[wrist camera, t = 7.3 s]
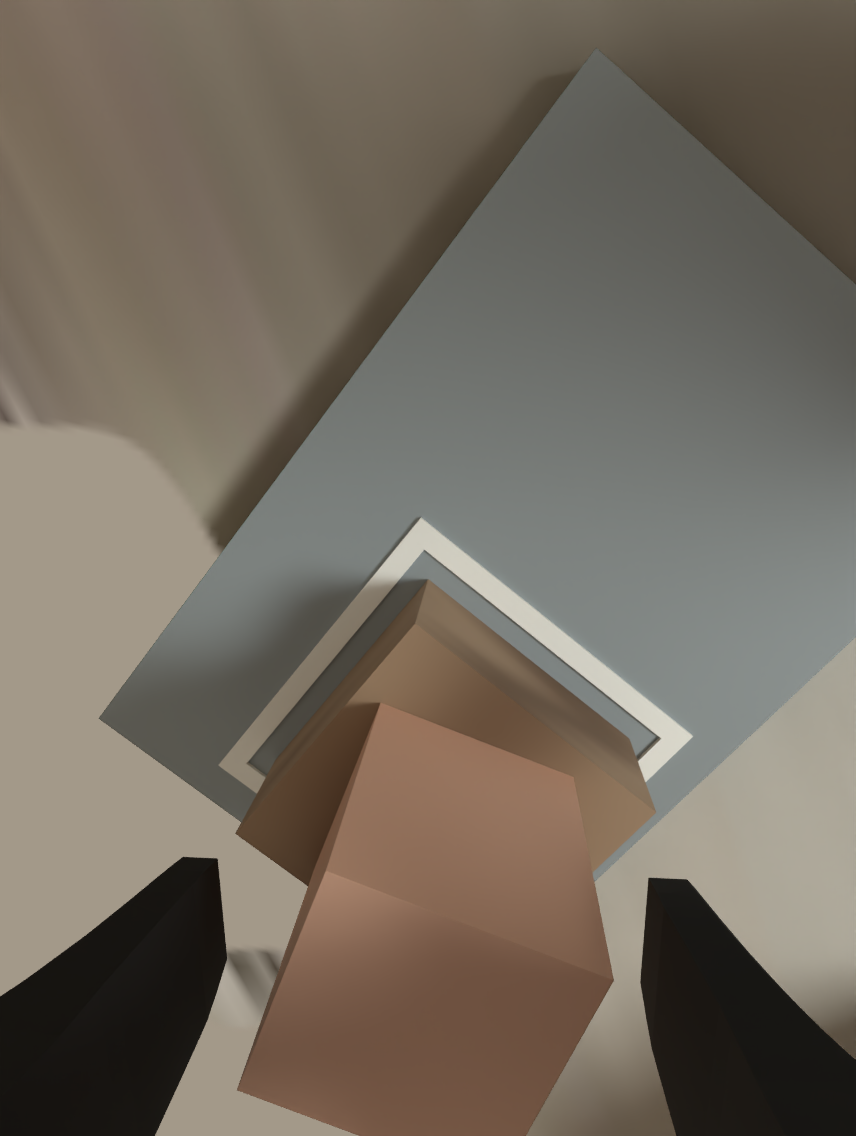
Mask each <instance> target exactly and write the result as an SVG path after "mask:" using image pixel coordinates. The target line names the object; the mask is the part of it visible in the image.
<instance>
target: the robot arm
mask: <svg viewBox="0 0 856 1136" xmlns="http://www.w3.org/2000/svg"><path fill="white" fill-rule="evenodd" d="M226 960H227V953H226V943H225V933H224V922H223V912H222V901H221V891H220V879H219V869H218V859H216V858H193V857H182V858H181V859H180V860H179V861H177V862H176V863H175V864H173V865H172V866H171V867H170V868H168V869H167V870H166V871H165V872H163V873H162V874H161V875H160V876H158V877H157V878H156V879H155V880H154V881H152V882H151V883H150V884H149V885H148V886H147V887H145V888H144V889H143V890H142V891H140V892H139V893H138V894H137V895H135V896H134V897H133V898H132V899H131V900H129V901H128V902H127V903H126V904H124V905H123V906H122V907H121V908H119V909H118V910H117V911H116V912H114V913H113V914H112V915H111V916H109V917H108V918H107V919H106V920H104V921H103V922H102V923H101V924H100V925H98V926H97V927H96V928H94V929H93V930H92V931H91V932H89V933H88V934H87V935H86V936H84V937H83V938H82V939H80V940H79V941H78V942H77V943H75V944H73V945H72V946H71V947H69V948H68V949H67V950H65V951H64V952H63V953H61V954H60V955H59V956H57V957H56V958H54V959H53V960H52V961H50V962H49V963H48V964H46V965H45V966H44V967H42V968H41V969H40V970H38V971H37V972H35V973H34V974H33V975H31V976H30V977H28V978H27V979H26V980H24V981H23V982H21V983H20V984H18V985H17V986H15V987H14V988H12V989H11V990H9V991H8V992H6V993H5V994H3V995H2V996H0V1136H155V1134H156V1132H157V1130H158V1128H159V1126H160V1123H161V1121H162V1119H163V1117H164V1115H165V1112H166V1110H167V1108H168V1106H169V1104H170V1101H171V1099H172V1097H173V1095H174V1092H175V1091H176V1089H177V1086H178V1084H179V1082H180V1080H181V1078H182V1075H183V1073H184V1071H185V1069H186V1067H187V1064H188V1062H189V1060H190V1058H191V1056H192V1053H193V1051H194V1049H195V1047H196V1045H197V1042H198V1040H199V1038H200V1035H201V1033H202V1031H203V1029H204V1027H205V1024H206V1022H207V1020H208V1017H209V1014H210V1011H211V1008H212V1005H213V1002H214V999H215V996H216V993H217V990H218V986H219V983H220V980H221V977H222V973H223V970H224V967H225V964H226ZM640 982H641V988H642V994H643V1000H644V1006H645V1013H646V1019H647V1024H648V1030H649V1035H650V1041H651V1047H652V1051H653V1054H654V1058H655V1062H656V1065H657V1069H658V1072H659V1076H660V1079H661V1083H662V1087H663V1090H664V1094H665V1097H666V1101H667V1104H668V1108H669V1111H670V1115H671V1118H672V1122H673V1125H674V1129H675V1132H676V1136H856V1060H855V1059H854V1058H853V1057H852V1056H851V1055H849V1054H848V1053H847V1052H846V1051H845V1050H844V1049H843V1048H841V1047H840V1046H839V1045H838V1044H837V1043H836V1042H835V1041H834V1040H833V1039H832V1038H831V1037H830V1036H829V1035H827V1034H826V1033H825V1032H824V1031H823V1030H822V1029H821V1028H820V1027H819V1026H818V1025H817V1024H816V1023H815V1022H814V1021H813V1020H812V1019H811V1018H810V1017H809V1016H808V1015H807V1014H806V1013H805V1012H804V1011H803V1010H802V1009H801V1008H800V1007H799V1006H798V1005H797V1004H796V1003H795V1002H794V1001H793V1000H792V999H791V998H790V997H789V996H788V995H787V994H786V993H785V991H784V990H783V989H782V988H781V987H780V986H779V985H778V984H777V983H776V982H775V981H774V980H773V979H772V977H771V976H770V975H769V974H768V973H767V972H766V971H765V970H764V969H763V968H762V966H761V965H760V964H759V963H758V962H757V961H756V960H755V959H754V958H753V957H752V955H751V954H750V953H749V952H748V951H747V950H746V949H745V947H744V946H743V945H742V944H741V943H740V942H739V941H738V939H737V938H736V937H735V936H734V935H733V933H732V932H731V931H730V930H729V929H728V928H727V926H726V925H725V924H724V923H723V922H722V920H721V919H720V918H719V917H718V916H717V914H716V913H715V912H714V911H713V910H712V908H711V907H710V906H709V905H708V903H707V902H706V901H705V900H704V899H703V897H702V896H701V895H700V894H699V892H698V891H697V890H696V889H695V888H694V886H693V885H692V884H691V883H690V882H689V881H688V880H686V879H664V878H649V880H648V892H647V905H646V918H645V930H644V943H643V956H642V969H641V981H640Z"/></svg>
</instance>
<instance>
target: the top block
mask: <svg viewBox="0 0 856 1136" xmlns="http://www.w3.org/2000/svg"><path fill="white" fill-rule="evenodd" d="M613 981H614V979H613V974H612V969H611V964H610V959H609V954H608V949H607V944H606V939H605V934H604V929H603V923H602V918H601V913H600V908H599V903H598V898H597V893H596V888H595V883H594V878H593V873H592V868H591V863H590V858H589V853H588V848H587V843H586V838H585V832H584V827H583V822H582V817H581V812H580V807H579V802H578V797H577V792H576V787H575V782H574V777H572V776H569V775H567V774H564V773H562V772H559V771H556V770H554V769H551V768H549V767H546V766H544V765H541V764H538V763H536V762H533V761H531V760H528V759H525V758H523V757H520V756H518V755H515V754H512V753H510V752H507V751H505V750H502V749H499V748H497V747H494V746H492V745H489V744H487V743H484V742H481V741H479V740H476V739H474V738H471V737H468V736H466V735H463V734H461V733H458V732H455V731H453V730H450V729H448V728H445V727H442V726H440V725H437V724H435V723H432V722H430V721H427V720H424V719H422V718H419V717H417V716H414V715H411V714H409V713H406V712H404V711H401V710H398V709H396V708H393V707H391V706H388V705H385V704H383V703H380V706H379V708H378V711H377V713H376V716H375V718H374V721H373V723H372V726H371V728H370V731H369V733H368V736H367V738H366V741H365V743H364V746H363V748H362V751H361V753H360V756H359V758H358V761H357V763H356V766H355V768H354V771H353V773H352V776H351V778H350V781H349V783H348V786H347V788H346V791H345V793H344V796H343V798H342V801H341V803H340V806H339V808H338V811H337V813H336V816H335V818H334V821H333V823H332V826H331V828H330V831H329V833H328V836H327V838H326V841H325V843H324V846H323V848H322V851H321V853H320V856H319V858H318V861H317V863H316V866H315V868H314V871H313V874H312V877H311V880H310V883H309V886H308V888H307V891H306V894H305V897H304V900H303V903H302V906H301V909H300V911H299V914H298V917H297V920H296V923H295V926H294V929H293V931H292V934H291V937H290V940H289V943H288V946H287V948H286V951H285V954H284V957H283V960H282V963H281V966H280V968H279V971H278V974H277V977H276V980H275V983H274V986H273V988H272V991H271V994H270V997H269V1000H268V1003H267V1006H266V1008H265V1011H264V1014H263V1017H262V1020H261V1023H260V1026H259V1028H258V1031H257V1034H256V1037H255V1040H254V1043H253V1046H252V1048H251V1052H250V1054H249V1057H248V1060H247V1063H246V1066H245V1068H244V1071H243V1074H242V1077H241V1080H240V1083H239V1086H238V1088H237V1090H238V1091H241V1092H243V1093H246V1094H249V1095H251V1096H254V1097H257V1098H260V1099H262V1100H265V1101H267V1102H270V1103H273V1104H276V1105H278V1106H281V1107H284V1108H286V1109H289V1110H292V1111H294V1112H297V1113H300V1114H302V1115H305V1116H308V1117H310V1118H313V1119H316V1120H318V1121H321V1122H324V1123H327V1124H329V1125H332V1126H335V1127H337V1128H340V1129H343V1130H345V1131H348V1132H351V1133H353V1134H356V1135H359V1136H526V1134H527V1133H528V1131H529V1129H530V1127H531V1126H532V1124H533V1122H534V1120H535V1118H536V1117H537V1115H538V1113H539V1111H540V1110H541V1108H542V1106H543V1104H544V1103H545V1101H546V1099H547V1097H548V1096H549V1094H550V1092H551V1090H552V1088H553V1087H554V1085H555V1083H556V1081H557V1080H558V1078H559V1076H560V1074H561V1073H562V1071H563V1069H564V1067H565V1066H566V1064H567V1062H568V1060H569V1058H570V1057H571V1055H572V1053H573V1051H574V1050H575V1048H576V1046H577V1044H578V1043H579V1041H580V1039H581V1037H582V1035H583V1034H584V1032H585V1030H586V1028H587V1027H588V1025H589V1023H590V1021H591V1020H592V1018H593V1016H594V1014H595V1013H596V1011H597V1009H598V1007H599V1005H600V1004H601V1002H602V1000H603V998H604V997H605V995H606V993H607V991H608V990H609V988H610V986H611V984H612V983H613Z"/></svg>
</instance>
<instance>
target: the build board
mask: <svg viewBox="0 0 856 1136" xmlns="http://www.w3.org/2000/svg"><path fill="white" fill-rule="evenodd" d="M428 579H429V580H430V581H431V582H433V583H434V584H435V585H436V586H438V587H439V588H440V589H442V590H443V591H444V592H445V593H447V594H448V595H449V596H450V597H452V598H453V599H454V600H455V601H457V602H458V603H459V604H460V605H462V606H463V607H464V608H465V609H467V610H468V611H469V612H471V613H472V614H473V615H474V616H476V617H477V618H478V619H479V620H481V621H482V622H483V623H484V624H486V625H487V626H488V627H489V628H491V629H492V630H493V631H494V632H496V633H497V634H498V635H500V636H501V637H502V638H503V639H505V640H506V641H507V642H508V643H510V644H511V645H512V646H513V647H515V648H516V649H517V650H518V651H520V652H521V653H522V654H523V655H525V656H526V657H527V658H529V659H530V660H531V661H532V662H534V663H535V664H536V665H537V666H539V667H540V668H541V669H542V670H544V671H545V672H546V673H547V674H549V675H550V676H551V677H552V678H554V679H555V680H556V681H558V682H559V683H560V684H561V685H563V686H564V687H565V688H566V689H568V690H569V691H570V692H571V693H573V694H574V695H575V696H576V697H578V698H579V699H580V700H581V701H583V702H584V703H585V704H587V705H588V706H589V707H590V708H592V709H593V710H594V711H595V712H597V713H598V714H599V715H600V716H602V717H603V718H604V719H605V720H607V721H608V722H609V723H610V724H612V725H613V726H614V727H616V728H617V729H618V730H619V731H621V732H622V733H623V734H624V735H626V736H627V737H628V738H629V739H630V742H631V744H632V747H633V750H634V753H635V755H636V758H637V761H638V763H639V766H640V769H641V772H642V774H643V777H644V780H645V783H646V785H647V788H648V791H649V794H650V796H651V799H652V802H653V804H654V807H655V810H656V813H655V814H654V815H653V816H652V817H651V818H650V819H649V820H648V821H647V822H646V823H645V824H644V825H643V826H641V827H640V828H639V829H638V830H637V831H636V832H635V833H634V834H633V835H632V836H631V837H630V838H629V839H628V840H627V841H626V842H624V843H623V844H622V845H621V846H620V847H619V848H618V849H617V850H616V851H615V852H614V853H613V854H612V855H611V856H610V857H609V858H607V859H606V860H605V861H604V862H603V863H602V864H601V865H600V866H599V867H598V868H597V869H596V870H595V871H594V872H593V878H594V882H595V881H596V880H597V879H598V878H599V877H600V876H601V875H602V874H603V873H604V872H605V871H606V870H607V869H609V868H610V867H611V866H612V865H613V864H614V863H615V862H616V861H617V860H618V859H619V858H620V857H621V856H622V855H623V854H625V853H626V852H627V851H628V850H629V849H630V848H631V847H632V846H633V845H634V844H635V843H636V842H637V841H638V840H640V839H641V838H642V837H643V836H644V835H645V834H646V833H647V832H648V831H649V830H650V829H651V828H652V827H653V826H654V825H656V824H657V823H658V822H659V821H660V820H661V819H662V818H663V817H664V816H665V815H666V814H667V813H668V812H669V811H670V810H672V809H673V808H674V807H675V806H676V805H677V804H678V803H679V802H680V801H681V800H682V799H683V798H684V797H685V796H686V795H688V794H689V793H690V792H691V791H692V790H693V789H694V788H695V787H696V786H697V785H698V784H699V783H700V782H701V781H702V780H704V779H705V778H706V777H707V776H708V775H709V774H710V773H711V772H712V771H713V770H714V769H715V768H716V767H717V766H718V765H720V764H721V763H722V762H723V761H724V760H725V759H726V758H727V757H728V756H729V755H730V754H731V753H732V752H733V751H735V750H736V749H737V748H738V747H739V746H740V745H741V744H742V743H743V742H744V741H745V740H746V739H747V738H748V737H749V736H751V735H752V734H753V733H754V732H755V731H756V730H757V729H758V728H759V727H760V726H761V725H762V724H763V723H764V722H765V721H767V720H768V719H769V718H770V717H771V716H772V715H773V714H774V713H775V712H776V711H777V710H778V709H779V708H780V707H781V706H783V705H784V704H785V703H786V702H787V701H788V700H789V699H790V698H791V697H792V696H793V695H794V694H795V693H796V692H797V691H799V690H800V689H801V688H802V687H803V686H804V685H805V684H806V683H807V682H808V681H809V680H810V679H811V678H812V677H813V676H815V675H816V674H817V673H818V672H819V671H820V670H821V669H822V668H823V667H824V666H825V665H826V664H827V663H828V662H830V661H831V660H832V659H833V658H834V657H835V656H836V655H837V654H838V653H839V652H840V651H841V650H842V649H843V648H844V647H846V646H847V645H848V644H849V643H850V642H851V641H852V640H853V639H854V638H855V637H856V284H855V283H854V282H852V281H851V280H850V279H849V278H848V277H847V276H846V275H845V274H844V273H843V272H842V271H840V270H839V269H838V268H837V267H836V266H835V265H834V264H833V263H832V262H831V261H829V260H828V259H827V258H826V257H825V256H824V255H823V254H822V253H821V252H820V251H819V250H817V249H816V248H815V247H814V246H813V245H812V244H811V243H810V242H809V241H808V240H806V239H805V238H804V237H803V236H802V235H801V234H800V233H799V232H798V231H797V230H796V229H794V228H793V227H792V226H791V225H790V224H789V223H788V222H787V221H786V220H785V219H783V218H782V217H781V216H780V215H779V214H778V213H777V212H776V211H775V210H774V209H773V208H771V207H770V206H769V205H768V204H767V203H766V202H765V201H764V200H763V199H762V198H760V197H759V196H758V195H757V194H756V193H755V192H754V191H753V190H752V189H751V188H749V187H748V186H747V185H746V184H745V183H744V182H743V181H742V180H741V179H740V178H739V177H737V176H736V175H735V174H734V173H733V172H732V171H731V170H730V169H729V168H728V167H726V166H725V165H724V164H723V163H722V162H721V161H720V160H719V159H718V158H717V157H716V156H714V155H713V154H712V153H711V152H710V151H709V150H708V149H707V148H706V147H705V146H703V145H702V144H701V143H700V142H699V141H698V140H697V139H696V138H695V137H694V136H693V135H691V134H690V133H689V132H688V131H687V130H686V129H685V128H684V127H683V126H682V125H680V124H679V123H678V122H677V121H676V120H675V119H674V118H673V117H672V116H671V115H670V114H668V113H667V112H666V111H665V110H664V109H663V108H662V107H661V106H660V105H659V104H657V103H656V102H655V101H654V100H653V99H652V98H651V97H650V96H649V95H648V94H647V93H645V92H644V91H643V90H642V89H641V88H640V87H639V86H638V85H637V84H636V83H634V82H633V81H632V80H631V79H630V78H629V77H628V76H627V75H626V74H625V73H624V72H622V71H621V70H620V69H619V68H618V67H617V66H616V65H615V64H614V63H613V62H611V61H610V60H609V59H608V58H607V57H606V56H605V55H604V54H603V53H602V52H601V51H599V50H598V49H597V48H595V50H594V51H593V52H592V54H591V55H590V57H589V58H588V59H587V61H586V62H585V63H584V65H583V66H582V67H581V69H580V70H579V71H578V73H577V74H576V75H575V77H574V78H573V79H572V81H571V82H570V83H569V85H568V86H567V88H566V89H565V90H564V92H563V93H562V94H561V96H560V97H559V98H558V100H557V101H556V102H555V104H554V105H553V106H552V108H551V109H550V110H549V112H548V113H547V115H546V116H545V117H544V119H543V120H542V121H541V123H540V124H539V125H538V127H537V128H536V129H535V131H534V132H533V133H532V135H531V136H530V137H529V139H528V140H527V141H526V143H525V144H524V146H523V147H522V148H521V150H520V151H519V152H518V154H517V155H516V156H515V158H514V159H513V160H512V162H511V163H510V164H509V166H508V167H507V168H506V170H505V171H504V172H503V174H502V175H501V177H500V178H499V179H498V181H497V182H496V183H495V185H494V186H493V187H492V189H491V190H490V191H489V193H488V194H487V195H486V197H485V198H484V199H483V201H482V202H481V204H480V205H479V206H478V208H477V209H476V210H475V212H474V213H473V214H472V216H471V217H470V218H469V220H468V221H467V222H466V224H465V225H464V226H463V228H462V229H461V230H460V232H459V233H458V235H457V236H456V237H455V239H454V240H453V241H452V243H451V244H450V245H449V247H448V248H447V249H446V251H445V252H444V253H443V255H442V256H441V257H440V259H439V260H438V261H437V263H436V264H435V266H434V267H433V268H432V270H431V271H430V272H429V274H428V275H427V276H426V278H425V279H424V280H423V282H422V283H421V284H420V286H419V287H418V288H417V290H416V291H415V293H414V294H413V295H412V297H411V298H410V299H409V301H408V302H407V303H406V305H405V306H404V307H403V309H402V310H401V311H400V313H399V314H398V315H397V317H396V318H395V319H394V321H393V322H392V324H391V325H390V326H389V328H388V329H387V330H386V332H385V333H384V334H383V336H382V337H381V338H380V340H379V341H378V342H377V344H376V345H375V346H374V348H373V349H372V351H371V352H370V353H369V355H368V356H367V357H366V359H365V360H364V361H363V363H362V364H361V365H360V367H359V368H358V369H357V371H356V372H355V373H354V375H353V376H352V377H351V379H350V380H349V382H348V383H347V384H346V386H345V387H344V388H343V390H342V391H341V392H340V394H339V395H338V396H337V398H336V399H335V400H334V402H333V403H332V404H331V406H330V407H329V408H328V410H327V411H326V413H325V414H324V415H323V417H322V418H321V419H320V421H319V422H318V423H317V425H316V426H315V427H314V429H313V430H312V431H311V433H310V434H309V435H308V437H307V438H306V440H305V441H304V442H303V444H302V445H301V446H300V448H299V449H298V450H297V452H296V453H295V454H294V456H293V457H292V458H291V460H290V461H289V462H288V464H287V465H286V466H285V468H284V469H283V471H282V472H281V473H280V475H279V476H278V477H277V479H276V480H275V481H274V483H273V484H272V485H271V487H270V488H269V489H268V491H267V492H266V493H265V495H264V496H263V497H262V499H261V500H260V502H259V503H258V504H257V506H256V507H255V508H254V510H253V511H252V512H251V514H250V515H249V516H248V518H247V519H246V520H245V522H244V523H243V524H242V526H241V527H240V529H239V530H238V531H237V533H236V534H235V535H234V537H233V538H232V539H231V541H230V542H229V543H228V545H227V546H226V547H225V549H224V550H223V551H222V553H221V554H220V555H219V557H218V558H217V560H216V561H215V562H214V564H213V565H212V567H211V568H210V569H209V570H208V572H207V573H206V574H205V576H204V577H203V578H202V580H201V581H200V582H199V584H198V585H197V587H196V588H195V589H194V591H193V592H192V593H191V595H190V596H189V597H188V599H187V600H186V601H185V603H184V604H183V605H182V607H181V608H180V609H179V611H178V612H177V614H176V615H175V616H174V618H173V619H172V620H171V622H170V623H169V624H168V626H167V627H166V628H165V630H164V631H163V632H162V634H161V635H160V636H159V638H158V639H157V640H156V642H155V643H154V644H153V646H152V647H151V649H150V650H149V651H148V653H147V654H146V655H145V657H144V658H143V659H142V661H141V662H140V663H139V665H138V666H137V667H136V669H135V670H134V672H133V673H132V674H131V676H130V677H129V678H128V680H127V681H126V682H125V684H124V685H123V686H122V688H121V689H120V691H119V692H118V693H117V694H116V696H115V697H114V699H113V700H112V701H111V702H110V704H109V705H108V707H107V708H106V709H105V711H104V712H103V713H102V715H101V716H100V717H99V719H100V720H101V721H103V722H104V723H106V724H107V725H108V726H110V727H111V728H113V729H114V730H115V731H117V732H118V733H119V734H121V735H122V736H124V737H125V738H126V739H128V740H129V741H130V742H132V743H133V744H134V745H136V746H137V747H139V748H140V749H141V750H143V751H144V752H145V753H147V754H148V755H150V756H151V757H152V758H154V759H155V760H156V761H158V762H159V763H161V764H162V765H163V766H165V767H166V768H168V769H169V770H170V771H172V772H173V773H174V774H176V775H177V776H179V777H180V778H181V779H183V780H184V781H185V782H187V783H188V784H190V785H191V786H192V787H194V788H195V789H196V790H198V791H199V792H201V793H202V794H203V795H205V796H206V797H207V798H209V799H210V800H212V801H213V802H214V803H216V804H217V805H218V806H220V807H221V808H223V809H224V810H225V811H227V812H228V813H229V814H231V815H232V816H234V817H235V818H236V819H238V820H239V821H240V822H242V820H243V819H244V817H245V815H246V813H247V811H248V809H249V808H250V806H251V804H252V802H253V800H254V798H255V797H256V795H257V793H258V791H259V789H260V787H261V785H262V784H263V782H264V780H265V778H266V776H267V774H268V773H269V771H270V769H271V767H272V765H273V763H274V762H275V760H276V759H277V757H278V756H279V755H280V754H281V753H282V752H283V750H284V749H285V748H286V747H287V746H288V744H289V743H290V742H291V741H292V740H293V739H294V737H295V736H296V735H297V734H298V733H299V731H300V730H301V729H302V728H303V727H304V725H305V724H306V723H307V722H308V721H309V720H310V718H311V717H312V716H313V715H314V714H315V712H316V711H317V710H318V709H319V708H320V707H321V705H322V704H323V703H324V702H325V701H326V699H327V698H328V697H329V696H330V695H331V694H332V692H333V691H334V690H335V689H336V688H337V686H338V685H339V684H340V683H341V682H342V680H343V679H344V678H345V677H346V676H347V675H348V673H349V672H350V671H351V670H352V669H353V667H354V666H355V665H356V664H357V663H358V662H359V660H360V659H361V658H362V657H363V656H364V654H365V653H366V652H367V651H368V650H369V649H370V647H371V646H372V645H373V644H374V643H375V641H376V640H377V639H378V638H379V637H380V635H381V634H382V633H383V632H384V631H385V630H386V628H387V627H388V626H389V625H390V624H391V622H392V621H393V620H394V619H395V618H396V617H397V615H398V614H399V613H400V612H401V611H402V609H403V608H404V607H405V606H406V605H407V604H408V602H409V601H410V600H411V599H412V598H413V596H414V595H415V594H416V593H417V592H418V590H419V589H420V588H421V587H422V586H423V585H424V583H425V582H426V581H427V580H428Z"/></svg>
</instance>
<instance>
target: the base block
mask: <svg viewBox="0 0 856 1136" xmlns="http://www.w3.org/2000/svg"><path fill="white" fill-rule="evenodd" d="M380 703H383V704H385V705H388V706H391V707H393V708H396V709H398V710H401V711H404V712H406V713H409V714H411V715H414V716H417V717H419V718H422V719H424V720H427V721H430V722H432V723H435V724H437V725H440V726H442V727H445V728H448V729H450V730H453V731H455V732H458V733H461V734H463V735H466V736H468V737H471V738H474V739H476V740H479V741H481V742H484V743H487V744H489V745H492V746H494V747H497V748H499V749H502V750H505V751H507V752H510V753H512V754H515V755H518V756H520V757H523V758H525V759H528V760H531V761H533V762H536V763H538V764H541V765H544V766H546V767H549V768H551V769H554V770H556V771H559V772H562V773H564V774H567V775H569V776H572V777H574V782H575V787H576V792H577V797H578V802H579V807H580V812H581V817H582V822H583V827H584V832H585V838H586V843H587V848H588V853H589V858H590V863H591V868H592V873H593V872H594V871H595V870H596V869H597V868H598V867H599V866H600V865H601V864H602V863H603V862H604V861H605V860H606V859H607V858H609V857H610V856H611V855H612V854H613V853H614V852H615V851H616V850H617V849H618V848H619V847H620V846H621V845H622V844H623V843H624V842H626V841H627V840H628V839H629V838H630V837H631V836H632V835H633V834H634V833H635V832H636V831H637V830H638V829H639V828H640V827H641V826H643V825H644V824H645V823H646V822H647V821H648V820H649V819H650V818H651V817H652V816H653V815H654V814H655V813H656V810H655V807H654V804H653V802H652V799H651V796H650V794H649V791H648V788H647V785H646V783H645V780H644V777H643V774H642V772H641V769H640V766H639V763H638V761H637V758H636V755H635V753H634V750H633V747H632V744H631V742H630V739H629V738H628V737H627V736H626V735H624V734H623V733H622V732H621V731H619V730H618V729H617V728H616V727H614V726H613V725H612V724H610V723H609V722H608V721H607V720H605V719H604V718H603V717H602V716H600V715H599V714H598V713H597V712H595V711H594V710H593V709H592V708H590V707H589V706H588V705H587V704H585V703H584V702H583V701H581V700H580V699H579V698H578V697H576V696H575V695H574V694H573V693H571V692H570V691H569V690H568V689H566V688H565V687H564V686H563V685H561V684H560V683H559V682H558V681H556V680H555V679H554V678H552V677H551V676H550V675H549V674H547V673H546V672H545V671H544V670H542V669H541V668H540V667H539V666H537V665H536V664H535V663H534V662H532V661H531V660H530V659H529V658H527V657H526V656H525V655H523V654H522V653H521V652H520V651H518V650H517V649H516V648H515V647H513V646H512V645H511V644H510V643H508V642H507V641H506V640H505V639H503V638H502V637H501V636H500V635H498V634H497V633H496V632H494V631H493V630H492V629H491V628H489V627H488V626H487V625H486V624H484V623H483V622H482V621H481V620H479V619H478V618H477V617H476V616H474V615H473V614H472V613H471V612H469V611H468V610H467V609H465V608H464V607H463V606H462V605H460V604H459V603H458V602H457V601H455V600H454V599H453V598H452V597H450V596H449V595H448V594H447V593H445V592H444V591H443V590H442V589H440V588H439V587H438V586H436V585H435V584H434V583H433V582H431V581H430V580H429V579H428V580H427V581H426V582H425V583H424V585H423V586H422V587H421V588H420V589H419V590H418V592H417V593H416V594H415V595H414V596H413V598H412V599H411V600H410V601H409V602H408V604H407V605H406V606H405V607H404V608H403V609H402V611H401V612H400V613H399V614H398V615H397V617H396V618H395V619H394V620H393V621H392V622H391V624H390V625H389V626H388V627H387V628H386V630H385V631H384V632H383V633H382V634H381V635H380V637H379V638H378V639H377V640H376V641H375V643H374V644H373V645H372V646H371V647H370V649H369V650H368V651H367V652H366V653H365V654H364V656H363V657H362V658H361V659H360V660H359V662H358V663H357V664H356V665H355V666H354V667H353V669H352V670H351V671H350V672H349V673H348V675H347V676H346V677H345V678H344V679H343V680H342V682H341V683H340V684H339V685H338V686H337V688H336V689H335V690H334V691H333V692H332V694H331V695H330V696H329V697H328V698H327V699H326V701H325V702H324V703H323V704H322V705H321V707H320V708H319V709H318V710H317V711H316V712H315V714H314V715H313V716H312V717H311V718H310V720H309V721H308V722H307V723H306V724H305V725H304V727H303V728H302V729H301V730H300V731H299V733H298V734H297V735H296V736H295V737H294V739H293V740H292V741H291V742H290V743H289V744H288V746H287V747H286V748H285V749H284V750H283V752H282V753H281V754H280V755H279V756H278V757H277V759H276V760H275V762H274V763H273V765H272V767H271V769H270V771H269V773H268V774H267V776H266V778H265V780H264V782H263V784H262V785H261V787H260V789H259V791H258V793H257V795H256V797H255V798H254V800H253V802H252V804H251V806H250V808H249V809H248V811H247V813H246V815H245V817H244V819H243V820H242V822H241V824H240V826H239V828H238V830H237V832H236V834H237V835H238V836H239V837H241V838H242V839H244V840H245V841H246V842H248V843H249V844H251V845H252V846H253V847H255V848H256V849H257V850H259V851H260V852H261V853H263V854H264V855H266V856H267V857H268V858H270V859H271V860H273V861H274V862H275V863H277V864H278V865H279V866H281V867H282V868H284V869H285V870H287V871H288V872H289V873H291V874H292V875H293V876H295V877H296V878H297V879H299V880H300V881H302V882H303V883H304V884H306V885H307V886H309V883H310V880H311V877H312V874H313V871H314V868H315V866H316V863H317V861H318V858H319V856H320V853H321V851H322V848H323V846H324V843H325V841H326V838H327V836H328V833H329V831H330V828H331V826H332V823H333V821H334V818H335V816H336V813H337V811H338V808H339V806H340V803H341V801H342V798H343V796H344V793H345V791H346V788H347V786H348V783H349V781H350V778H351V776H352V773H353V771H354V768H355V766H356V763H357V761H358V758H359V756H360V753H361V751H362V748H363V746H364V743H365V741H366V738H367V736H368V733H369V731H370V728H371V726H372V723H373V721H374V718H375V716H376V713H377V711H378V708H379V706H380Z"/></svg>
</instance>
